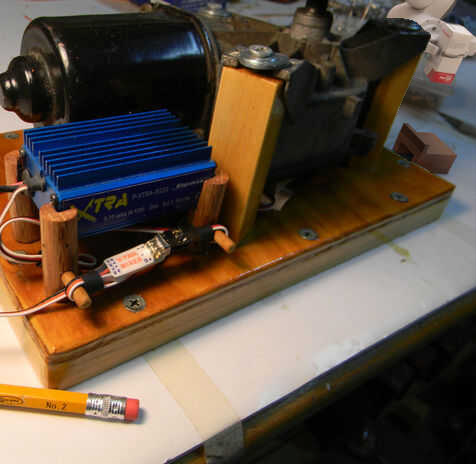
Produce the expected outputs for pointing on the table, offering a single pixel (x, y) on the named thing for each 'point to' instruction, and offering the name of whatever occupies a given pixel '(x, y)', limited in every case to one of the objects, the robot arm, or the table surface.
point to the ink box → (448, 53)
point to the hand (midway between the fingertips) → (451, 52)
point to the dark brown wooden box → (425, 149)
